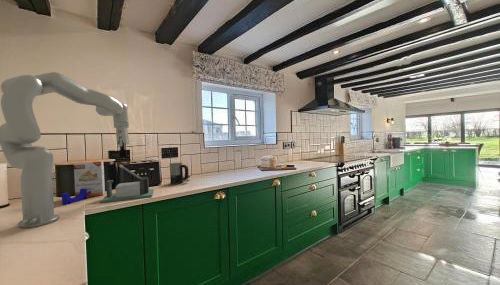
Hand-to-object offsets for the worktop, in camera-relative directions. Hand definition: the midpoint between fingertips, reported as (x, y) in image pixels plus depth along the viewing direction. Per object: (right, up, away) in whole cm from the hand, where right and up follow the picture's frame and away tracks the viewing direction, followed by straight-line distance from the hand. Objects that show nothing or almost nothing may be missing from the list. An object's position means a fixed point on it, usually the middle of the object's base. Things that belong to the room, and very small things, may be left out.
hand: (123, 156), depth 132 cm
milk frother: (+21, -22, +40) cm, 51 cm away
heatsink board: (+3, -23, +1) cm, 24 cm away
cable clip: (-24, -25, -6) cm, 35 cm away
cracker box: (-23, -25, +5) cm, 34 cm away
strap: (+4, -10, +1) cm, 11 cm away
